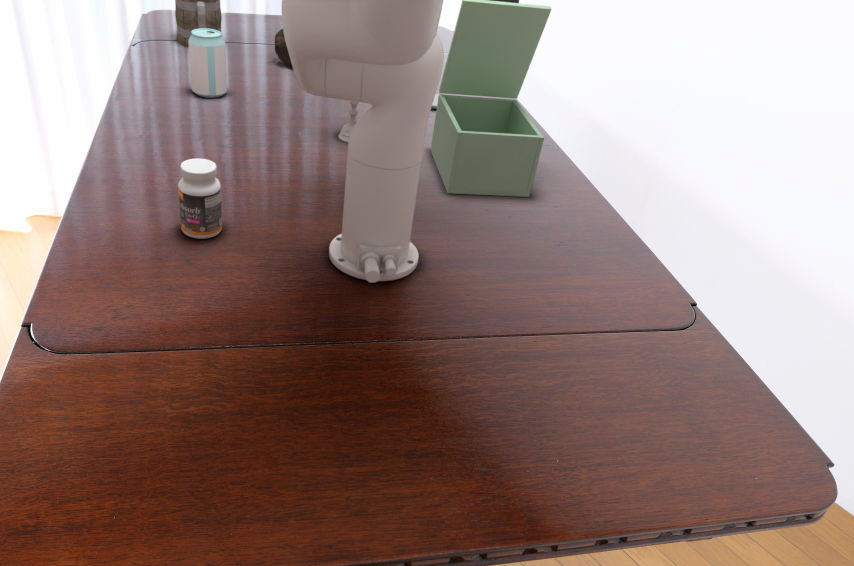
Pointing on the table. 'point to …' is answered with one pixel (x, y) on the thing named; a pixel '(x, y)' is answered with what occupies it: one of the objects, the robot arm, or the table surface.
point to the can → (208, 62)
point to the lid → (493, 47)
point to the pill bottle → (200, 199)
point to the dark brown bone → (282, 49)
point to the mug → (196, 17)
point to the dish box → (485, 146)
